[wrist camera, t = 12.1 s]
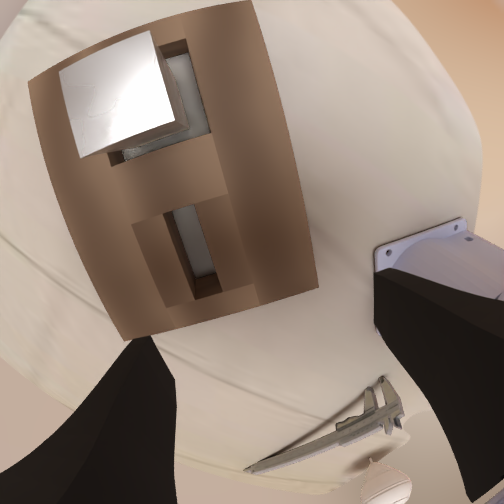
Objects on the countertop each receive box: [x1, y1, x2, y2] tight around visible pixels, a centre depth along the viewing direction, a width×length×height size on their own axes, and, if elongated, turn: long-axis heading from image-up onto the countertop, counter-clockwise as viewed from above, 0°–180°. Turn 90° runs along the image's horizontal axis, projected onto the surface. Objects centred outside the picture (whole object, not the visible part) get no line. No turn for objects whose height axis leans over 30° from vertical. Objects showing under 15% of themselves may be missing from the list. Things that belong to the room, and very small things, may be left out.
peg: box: [59, 30, 190, 158], centre depth 10 cm, size 3×3×8 cm
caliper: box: [243, 377, 405, 475], centre depth 24 cm, size 20×1×6 cm, turn 137°
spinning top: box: [361, 458, 412, 504], centre depth 28 cm, size 8×8×12 cm
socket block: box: [28, 0, 319, 341], centre depth 14 cm, size 12×16×2 cm
